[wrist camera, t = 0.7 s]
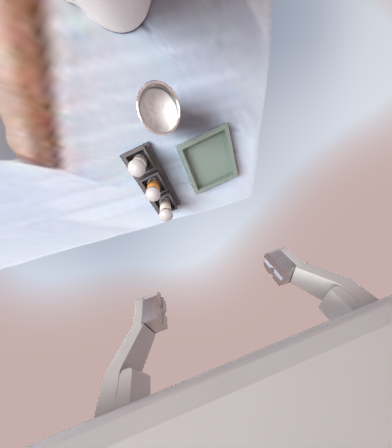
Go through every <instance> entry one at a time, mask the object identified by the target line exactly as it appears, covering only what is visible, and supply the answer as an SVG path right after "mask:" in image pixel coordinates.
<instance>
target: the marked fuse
mask: <svg viewBox="0 0 392 448" xmlns="http://www.w3.org/2000/svg"><path fill="white" fill-rule="evenodd" d="M146 198H147V199H148V200H149V201H153V202H154V201H157V200H159V198H160V181H159V180H158V179H157V178H155V177H152V178H150V179H149V180H148V186H147V190H146Z"/></svg>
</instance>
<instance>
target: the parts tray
mask: <svg viewBox="0 0 392 448" xmlns="http://www.w3.org/2000/svg"><path fill="white" fill-rule="evenodd" d="M176 148H177V151H178V153H179V155H180V158H181V160H182V163H183V165H184V167H185V170H186V172H187V175H188V177H189V179H190V182H191V184H192V187H193V189H194V191H195V193H196V195H197V194H199V193H201V192H204V191H206V190H208V189H210V188H212V187H214V186H216V185H219V184H221V183H223V182H225V181H227V180H229V179H232V178H234V177H236V176H238V173H237V168H236V162H235V157H234V152H233V147H232V142H231V136H230V131H229V126H228V123H223V124H221V125H219V126H217V127H215V128H213V129H211V130H208V131H206V132H204V133H202V134H200V135H198V136H196V137H194V138H192V139H190V140H188V141H186V142H184V143H181V144H179V145H177V146H176Z"/></svg>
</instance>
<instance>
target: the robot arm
mask: <svg viewBox="0 0 392 448" xmlns="http://www.w3.org/2000/svg"><path fill="white" fill-rule="evenodd" d="M65 1H67V2H69V3H72V4H74V5H77V6H78V7H79V8H81V9H82V10H83V11H84V12H85V13H86V14H87V15H88V16H89V17H90V18H91V19H93V20H94V21H95V22H96V23H98V24H99V25H101V26H102V27H104V28H106V29H108V30H110V31H114V32H118V33H125V32H130V31H132V30H134V29H136V28H137V27H138V26H139V25H140V24H141V23H142V22H143V21H144V19H145V17H146V15H147V13H148V11H149V8H150V5H151V0H65ZM264 257H265V258H266V259H265V260H264V266H265V268H266V270H267V271H268V272H269V273H270V274H272V275H273V279H274V280H275V281H276V282H277V284H278V285H279V286H280V285H283V284H286V283H289V282H290V283H292V284H294V285H296V286H297V287H299V288H301V289H303V290H305V291H306V292H308V293H310V294H311V295H313V296H315V297H317V298H319V299H321V300H322V302H321V304H320V305H319V309H320V310H321V311H322V312H323V313H324V314H325V315H326V317H327V318H328V319H329V321H327V322H325V323H322V324H320V325H318V326H315V327H313V328H310V329H308V330H305V331H303V332H301V333H298V334H296V335H293V336H291V337H288V338H286V339H284V340H281V341H279V342H276V343H274V344H272V345H269V346H267V347H265V348H262V349H260V350H257V351H255V352H252V353H250V354H248V355H245V356H243V357H240V358H238V359H236V360H233V361H231V362H228V363H226V364H224V365H221V366H219V367H216V368H214V369H212V370H209V371H207V372H204V373H202V374H200V375H197V376H195V377H192V378H190V379H188V380H185V381H183V382H180V383H178V384H175V385H173V386H171V387H168V388H166V389H163V390H161V391H159V392H156V393H154V394H151V395H150V376H149V375H148V374H146V373H143V372H142V370H143V367H144V364H145V362H146V359H147V356H148V354H149V351H150V348H151V346H152V343H153V340H154V337H155V333H158V332H160V331H163V330H165V329H167V317H166V316H165V313H166V304H165V301H164V299H163V297H161V295H160V293H159V292H158V293H155V294H152V295H149V296H146V297H143V298H141V299H138V300H137V301H136V303H135V312H134V321H133V328H131V329H130V330H129V332H128V334H127V336H126V337H125V339H124V341H123V342H122V344H121V346H120V348H119V349H118V352H117V353H116V355H115V357H114V358H113V360H112V362H111V364H110V365H109V367H108V369H107V371H106V372H105V374H104V376H103V379H102V384H101V388H100V393H99V398H98V402H97V407H96V412H95V416H94V419H91V420H89V421H86V422H84V423H82V424H79V425H77V426H74V427H72V428H70V429H67V430H65V431H62V432H60V433H57V434H55V435H53V436H50V437H48V438H46V439H43V440H41V441H38V442H36V443H33V444H32V445H29V446H26V447H24V448H392V295H390V296H387V297H385V298H382V299H380V300H379V299H377V298H376V297H374V296H373V295H372V294H370V293H369V292H368V291H367V290H365V289H364V288H363V287H361V286H360V285H358V284H357V283H356V282H355V281H353V280H352V279H349V278H346V277H344V276H341V275H338V274H336V273H333V272H330V271H327V270H325V269H322V268H319V267H316V266H313V265H311V264H308V263H303V262H302V261H301V260H300V259H299V258H297V257H296V256H295V255H294V254H293V253H292V252H291V251H289V250H288V249H287V248H285V247H283V248H281V249H277V250H274V251H272V252H269V253H266V254H265V256H264Z"/></svg>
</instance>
